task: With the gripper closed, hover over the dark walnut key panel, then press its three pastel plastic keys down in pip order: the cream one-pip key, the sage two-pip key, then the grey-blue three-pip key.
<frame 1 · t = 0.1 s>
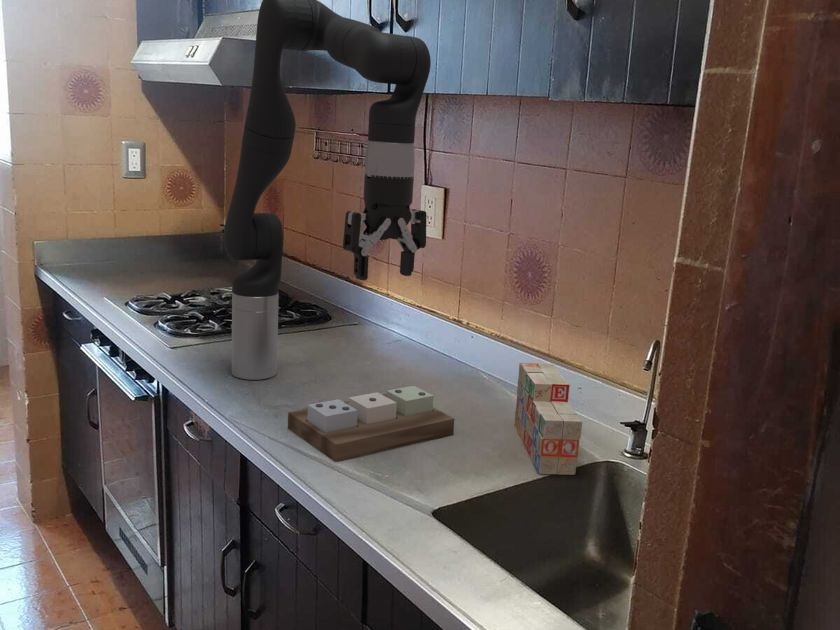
hand: (383, 277, 127), 29 cm above the worktop, fingers open, 8 cm apart
key 2: (409, 401, 145), point 4 cm above the worktop, slide at 0.0 cm
key panel: (371, 431, 141), on the worktop
key 3: (332, 416, 135), point 4 cm above the worktop, slide at 0.0 cm
stack of blocks: (542, 450, 138), on the worktop
key 1: (372, 408, 140), point 4 cm above the worktop, slide at 0.0 cm
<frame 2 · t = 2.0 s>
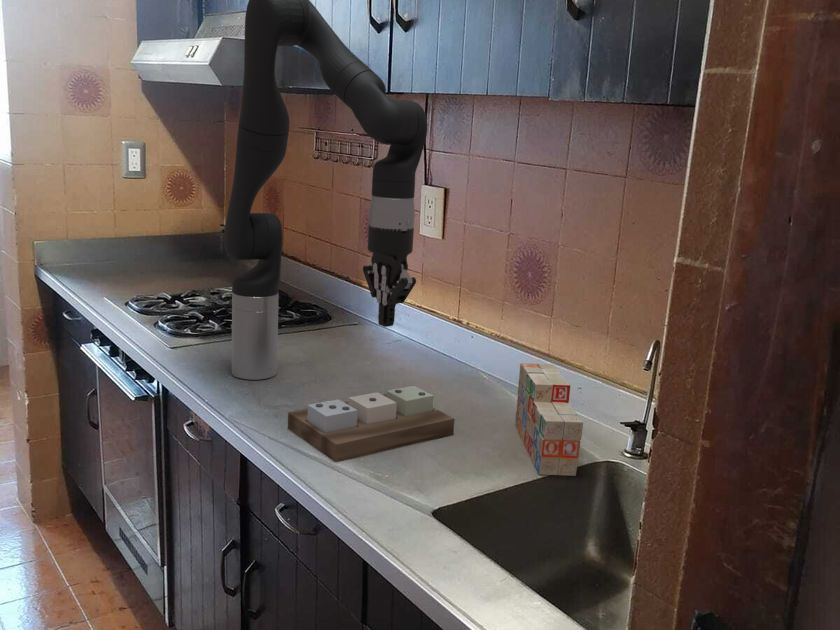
hand: (386, 325, 138), 19 cm above the worktop, fingers closed
nothing on the worktop moved.
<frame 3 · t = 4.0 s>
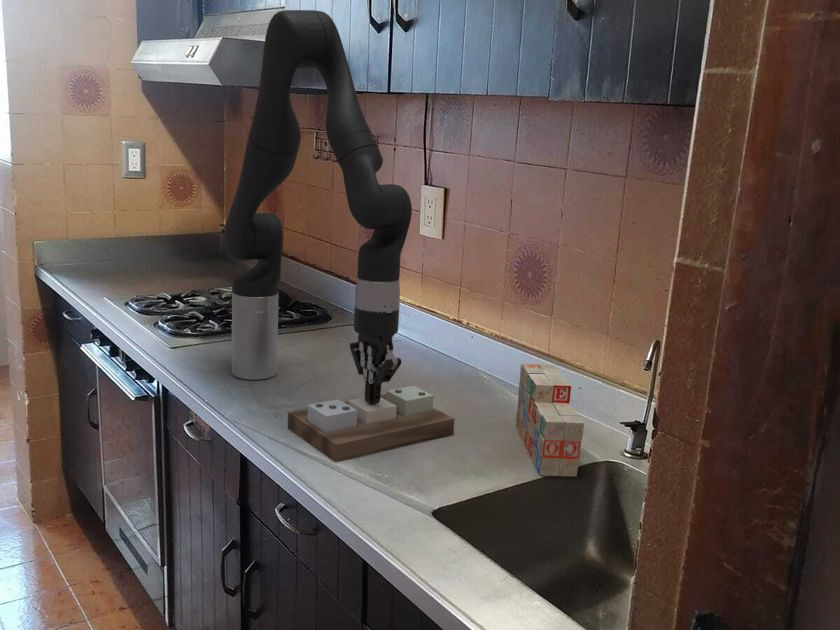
hand: (372, 402, 139), 5 cm above the worktop, fingers closed
key 1: (372, 411, 140), point 4 cm above the worktop, slide at 0.6 cm, touching gripper
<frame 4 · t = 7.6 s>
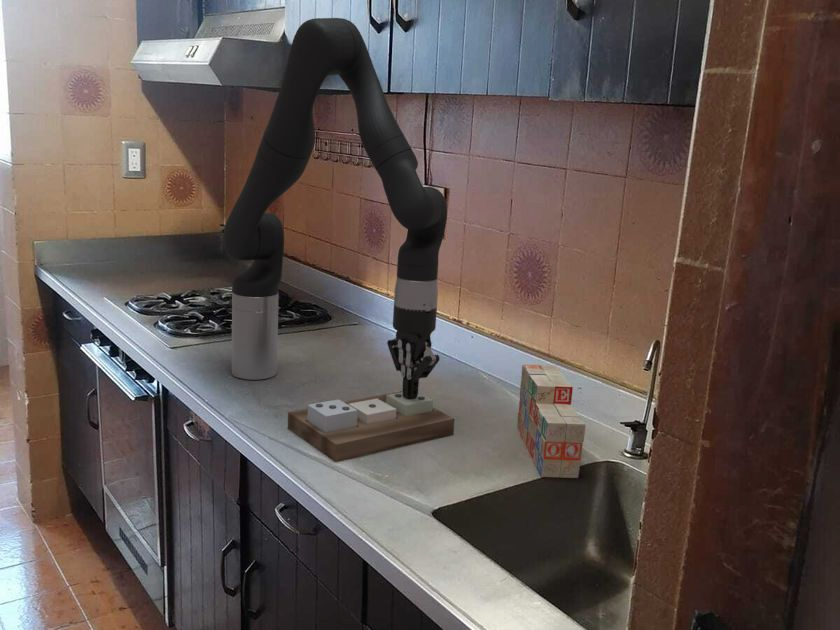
hand: (409, 397, 144), 5 cm above the worktop, fingers closed
key 2: (409, 405, 145), point 3 cm above the worktop, slide at 0.8 cm, touching gripper
key 1: (371, 414, 140), point 3 cm above the worktop, slide at 1.2 cm
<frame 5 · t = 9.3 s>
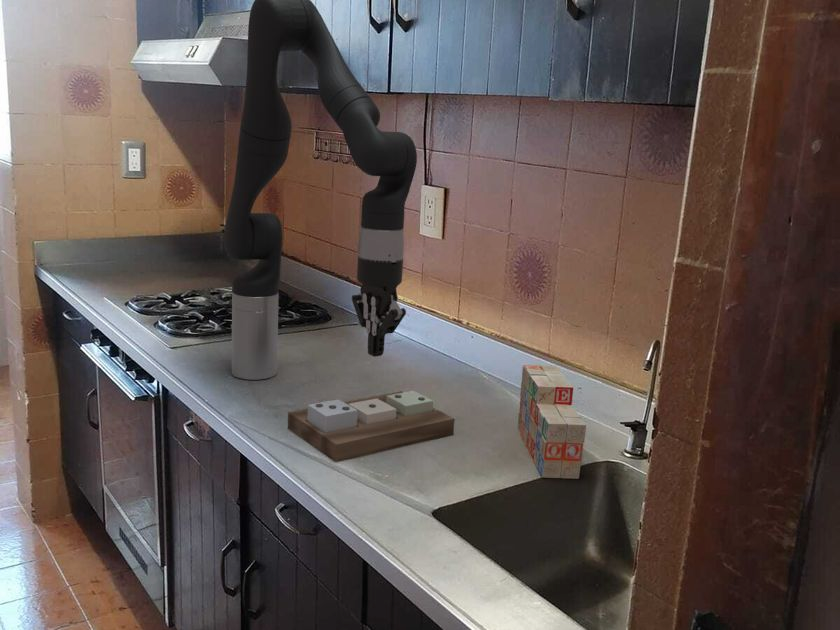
hand: (375, 354, 138), 14 cm above the worktop, fingers closed
key 2: (409, 406, 145), point 3 cm above the worktop, slide at 1.0 cm
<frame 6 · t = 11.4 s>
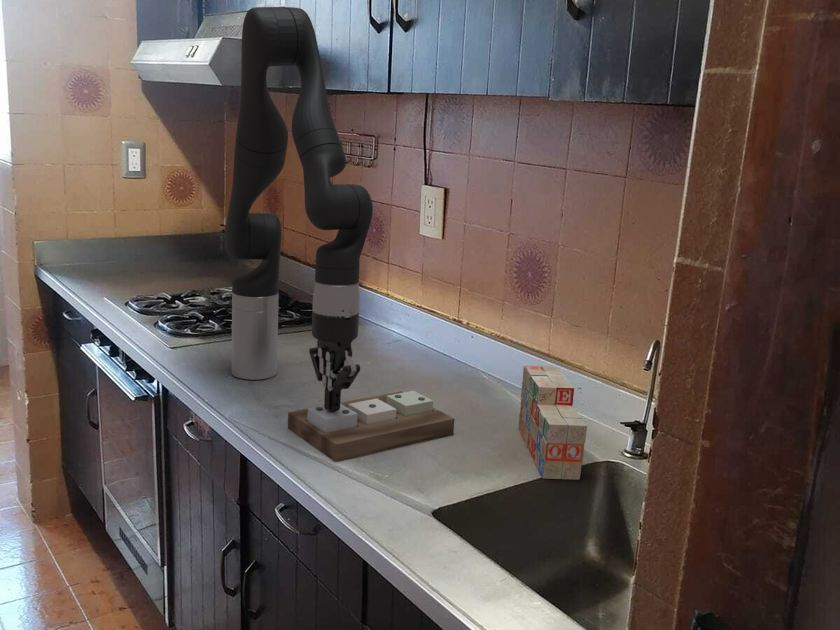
hand: (332, 409, 135), 5 cm above the worktop, fingers closed
key 3: (332, 419, 135), point 4 cm above the worktop, slide at 0.6 cm, touching gripper
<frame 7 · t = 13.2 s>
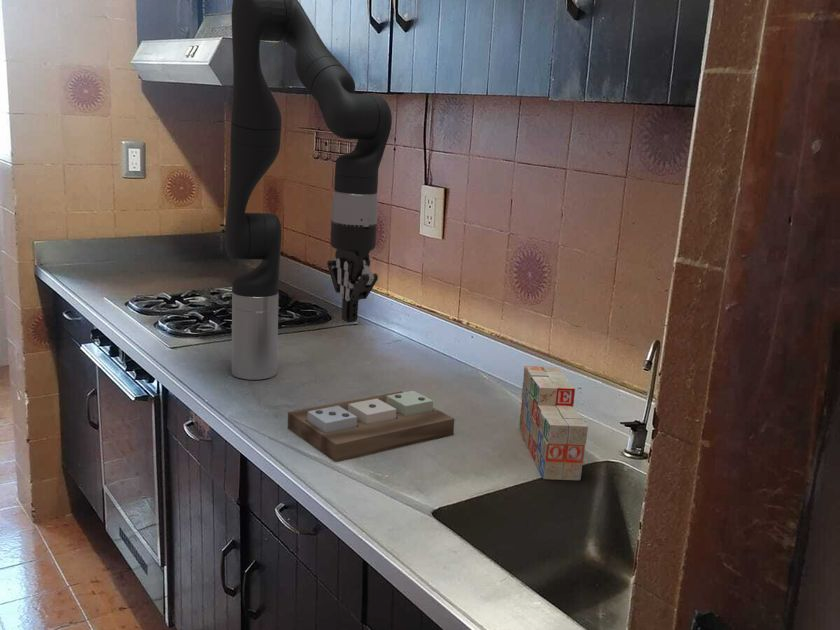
hand: (349, 320, 137), 19 cm above the worktop, fingers closed
key 3: (332, 422, 135), point 3 cm above the worktop, slide at 1.2 cm
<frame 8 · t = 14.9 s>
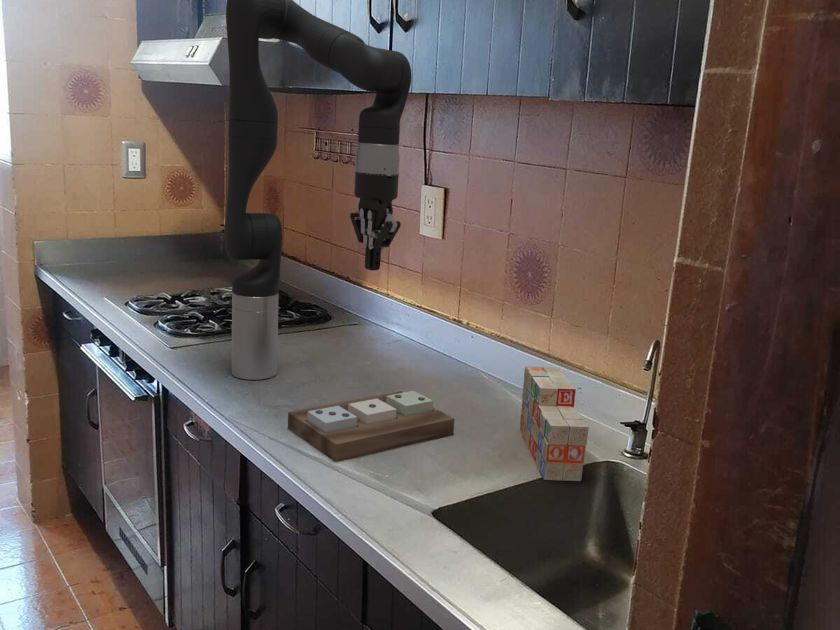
hand: (372, 269, 143), 27 cm above the worktop, fingers closed
at the end: key 1 slide at 1.2 cm; key 2 slide at 1.0 cm; key 3 slide at 1.2 cm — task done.
